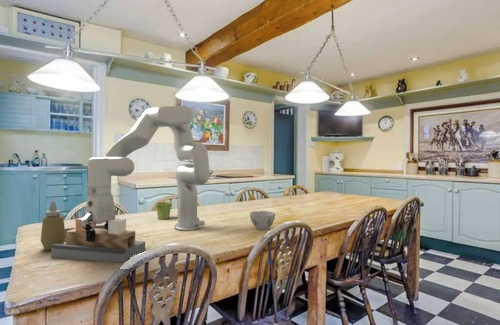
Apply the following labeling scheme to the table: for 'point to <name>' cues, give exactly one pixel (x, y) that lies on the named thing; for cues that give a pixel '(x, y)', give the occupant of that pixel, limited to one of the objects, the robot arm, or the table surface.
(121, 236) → the wooden beam
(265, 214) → the teacup
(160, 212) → the plant pot
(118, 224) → the white cube
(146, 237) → the table surface
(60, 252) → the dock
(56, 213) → the squeeze bottle
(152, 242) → the table surface
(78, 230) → the salmon pink cube
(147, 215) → the table surface
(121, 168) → the robot arm
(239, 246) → the table surface
